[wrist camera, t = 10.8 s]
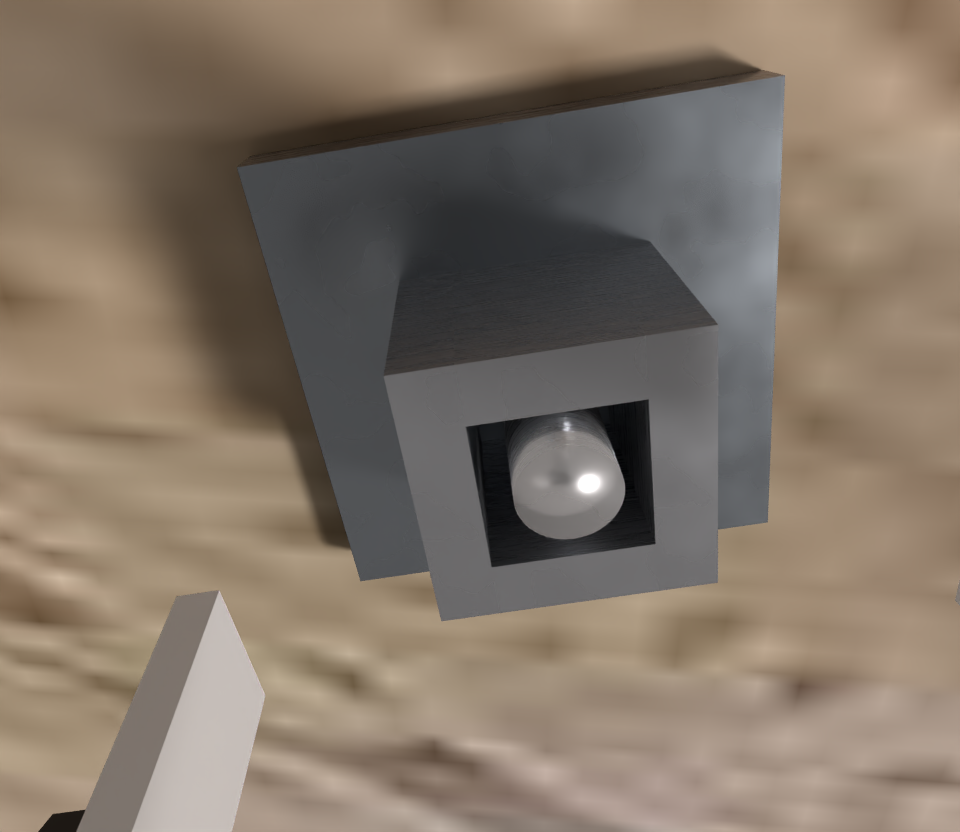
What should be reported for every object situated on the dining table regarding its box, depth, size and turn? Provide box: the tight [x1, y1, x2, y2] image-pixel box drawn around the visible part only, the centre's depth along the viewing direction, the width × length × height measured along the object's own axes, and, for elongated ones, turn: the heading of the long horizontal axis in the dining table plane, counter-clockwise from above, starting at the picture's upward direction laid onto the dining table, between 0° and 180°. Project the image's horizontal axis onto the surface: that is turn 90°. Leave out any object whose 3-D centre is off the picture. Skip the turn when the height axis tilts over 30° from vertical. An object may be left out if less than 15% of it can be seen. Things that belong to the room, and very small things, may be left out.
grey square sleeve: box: [384, 242, 718, 621], centre depth 20 cm, size 7×7×6 cm
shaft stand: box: [237, 70, 785, 581], centre depth 21 cm, size 14×14×8 cm
